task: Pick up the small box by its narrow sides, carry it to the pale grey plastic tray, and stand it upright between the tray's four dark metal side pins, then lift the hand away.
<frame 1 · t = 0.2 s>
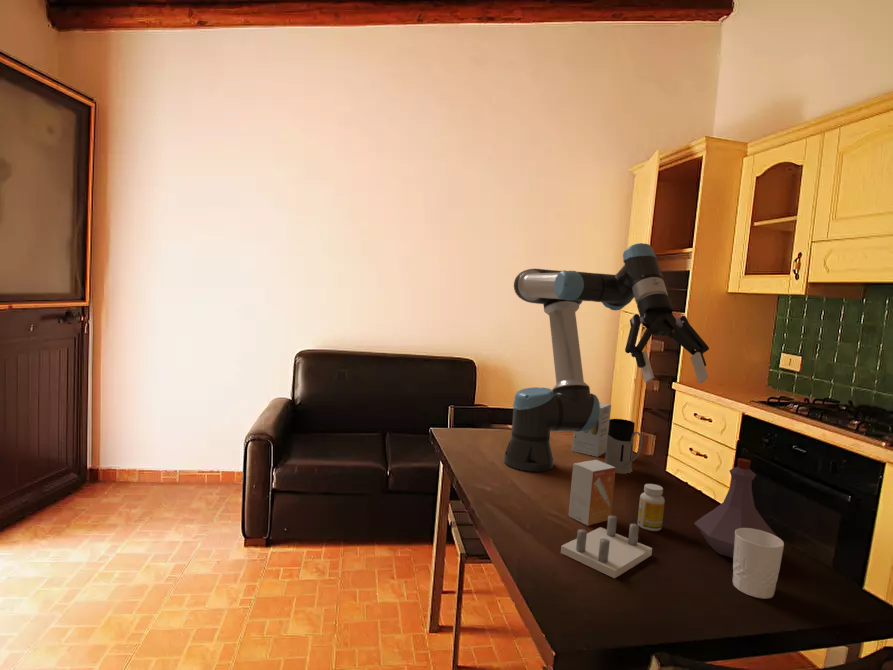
hand: (676, 380, 120), 35 cm above the table, tool tilted 35°, fingers open, 13 cm apart
small box: (589, 519, 127), on the table
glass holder: (623, 472, 164), on the table
pin tray: (606, 554, 109), on the table
white cup: (752, 589, 100), on the table
supplement bottle: (649, 527, 125), on the table
flask: (733, 551, 115), on the table
supplement box: (589, 452, 184), on the table
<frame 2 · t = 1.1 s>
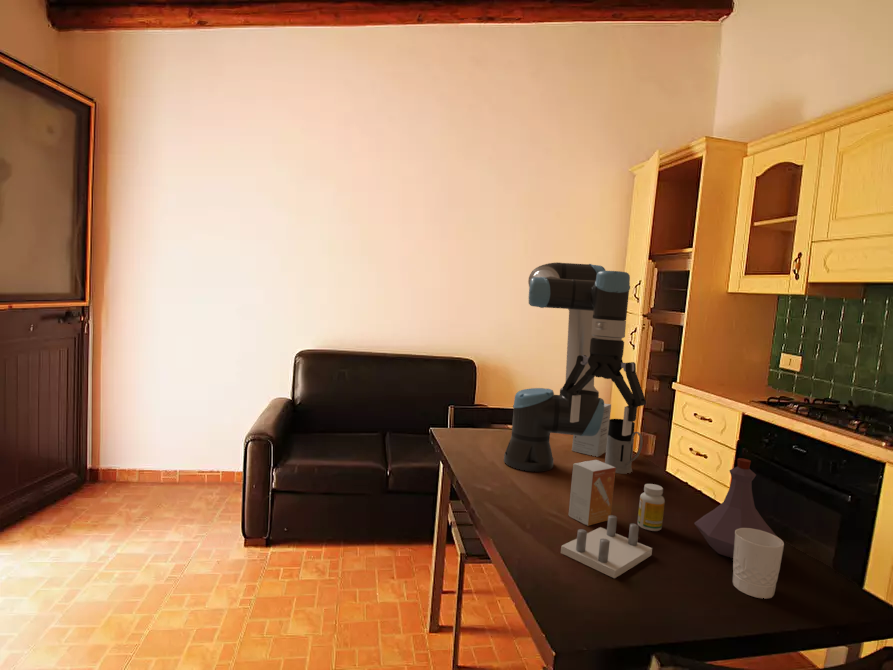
hand: (599, 428, 125), 22 cm above the table, tool pointing down, fingers open, 13 cm apart
nothing on the table moved.
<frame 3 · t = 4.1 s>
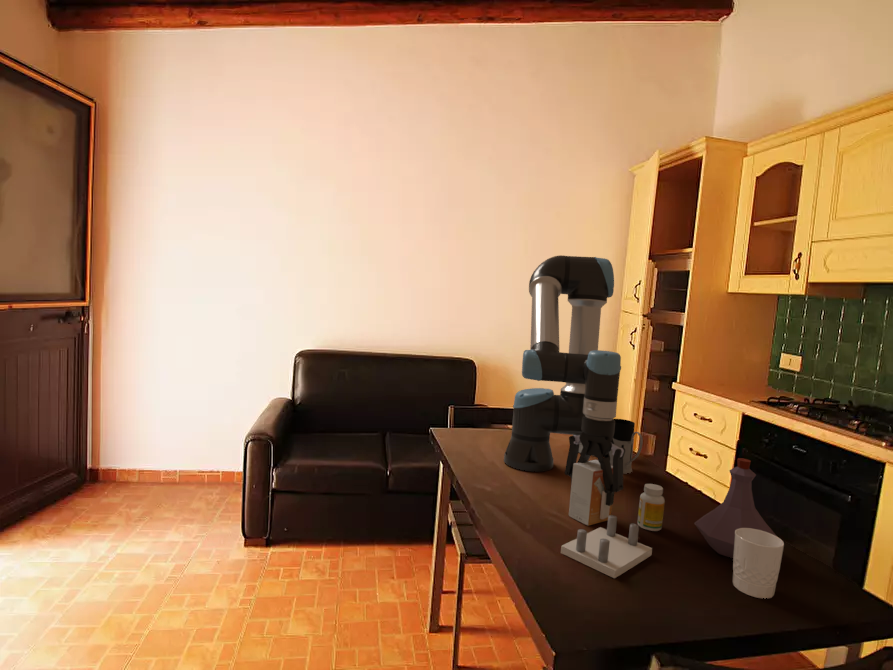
hand: (590, 511, 127), 2 cm above the table, tool pointing down, fingers closed on small box, 7 cm apart
small box: (589, 519, 127), on the table, touching gripper
everything else where it was.
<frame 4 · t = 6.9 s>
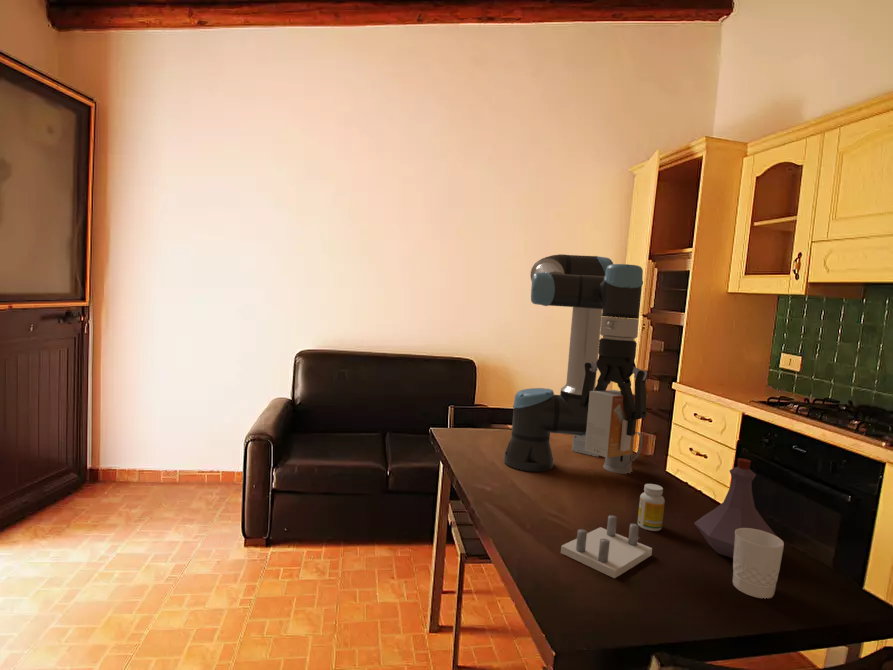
hand: (608, 445, 114), 21 cm above the table, tool pointing down, fingers closed on small box, 7 cm apart
small box: (608, 453, 114), point 19 cm above the table, touching gripper
everything else where it was.
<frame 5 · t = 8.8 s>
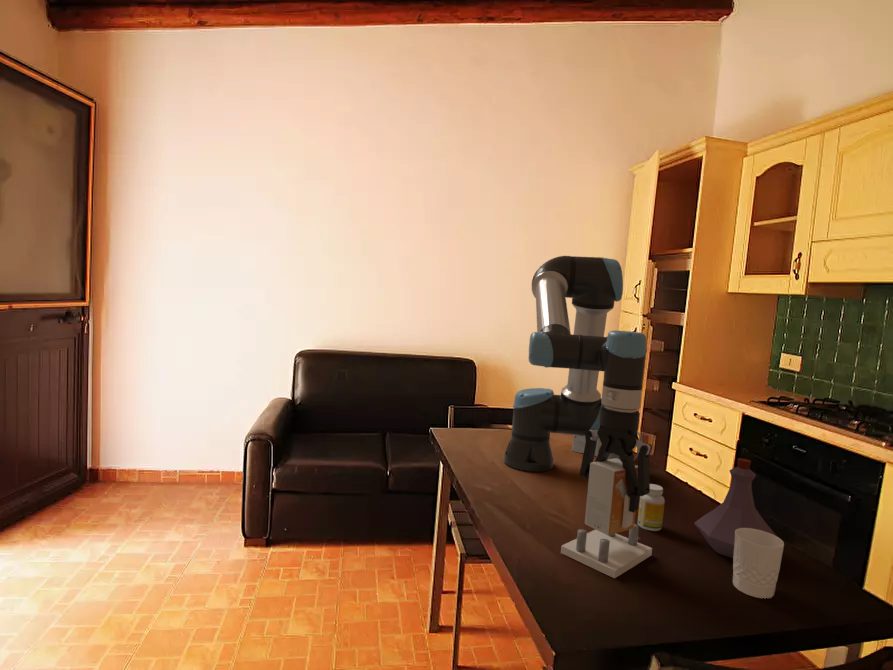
hand: (609, 519, 109), 7 cm above the table, tool pointing down, fingers closed on small box, 7 cm apart
small box: (609, 527, 109), point 6 cm above the table, touching gripper
everything else where it was.
when the fingers open (4 cm above the table, at t = 10.2 s): small box drops 1 cm, resting on pin tray.
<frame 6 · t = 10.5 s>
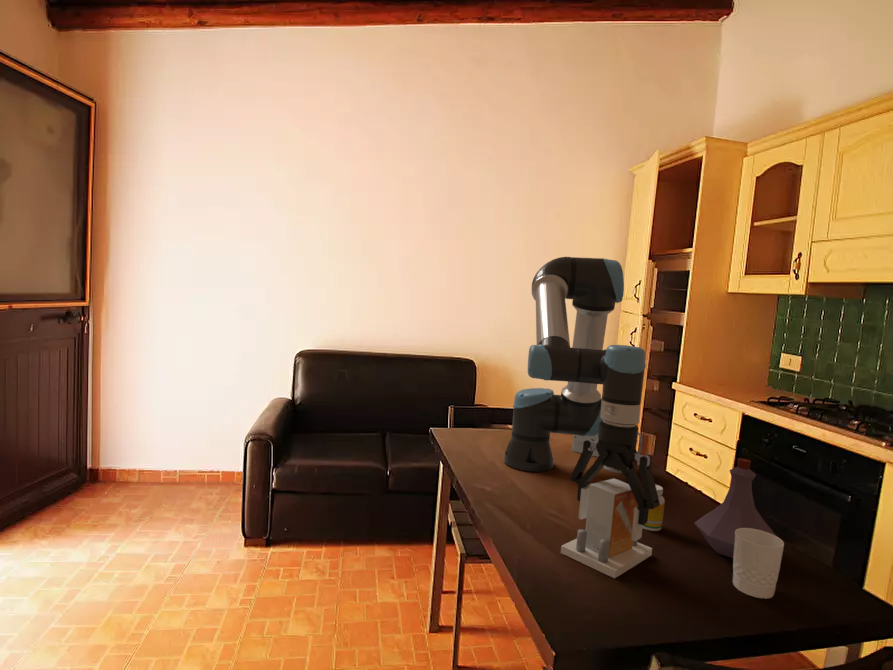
hand: (608, 527, 109), 6 cm above the table, tool pointing down, fingers open, 11 cm apart
small box: (608, 548, 109), point 1 cm above the table, touching pin tray
everything else where it was.
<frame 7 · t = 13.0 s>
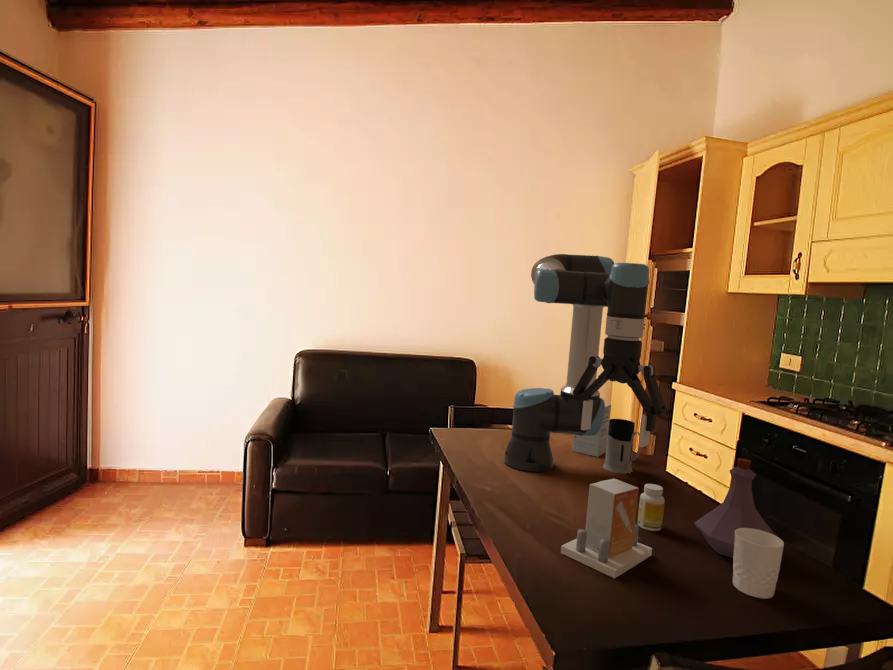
hand: (613, 437, 113), 23 cm above the table, tool pointing down, fingers open, 13 cm apart
nothing on the table moved.
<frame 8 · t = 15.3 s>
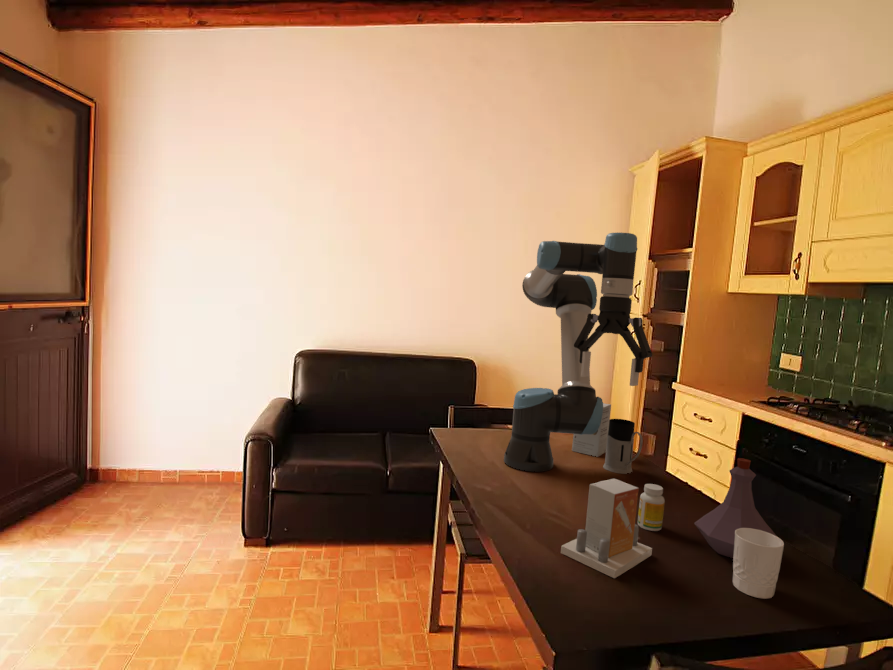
hand: (608, 380, 134), 32 cm above the table, tool pointing down, fingers open, 13 cm apart
nothing on the table moved.
at the end: small box 0.2 cm off-centre on the pin tray, point 1.3 cm above the pin tray's base; small box tilted 0°; the gripper is holding nothing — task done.
